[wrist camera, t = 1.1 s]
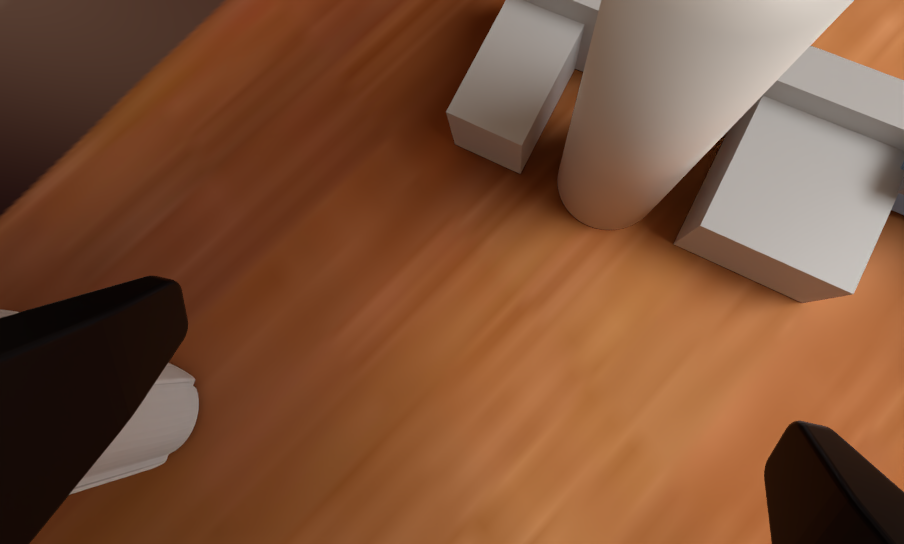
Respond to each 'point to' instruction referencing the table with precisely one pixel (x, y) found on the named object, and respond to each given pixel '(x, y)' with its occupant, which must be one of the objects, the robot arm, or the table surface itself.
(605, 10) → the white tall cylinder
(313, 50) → the table surface
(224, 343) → the table surface
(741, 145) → the cable duct
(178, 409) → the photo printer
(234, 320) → the table surface
